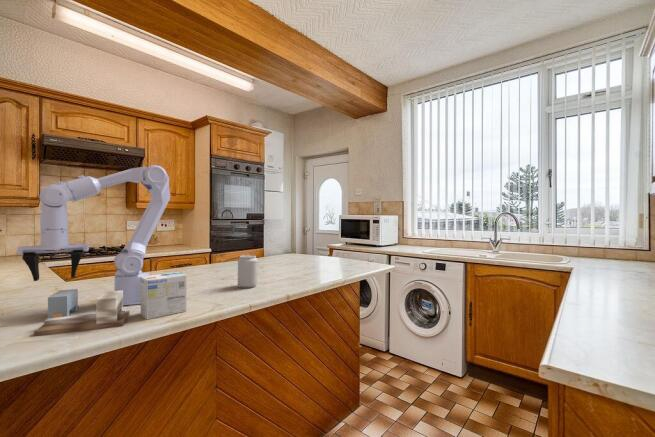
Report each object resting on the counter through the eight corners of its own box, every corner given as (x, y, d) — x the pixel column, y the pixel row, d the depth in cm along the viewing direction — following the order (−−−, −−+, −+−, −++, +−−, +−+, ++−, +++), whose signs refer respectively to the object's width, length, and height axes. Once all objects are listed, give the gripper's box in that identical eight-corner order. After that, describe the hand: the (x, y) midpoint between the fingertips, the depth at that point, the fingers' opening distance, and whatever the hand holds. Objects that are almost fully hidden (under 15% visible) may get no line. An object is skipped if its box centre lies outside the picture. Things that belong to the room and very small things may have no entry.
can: (234, 288, 116) (234, 256, 115) (242, 283, 123) (243, 253, 123) (252, 289, 114) (253, 257, 114) (260, 284, 122) (260, 254, 121)
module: (77, 309, 88) (77, 288, 88) (66, 319, 81) (66, 296, 80) (60, 311, 87) (60, 290, 87) (46, 321, 79) (46, 298, 79)
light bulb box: (179, 306, 93) (179, 270, 93) (187, 311, 88) (187, 274, 88) (139, 314, 85) (139, 275, 85) (145, 320, 81) (145, 279, 80)
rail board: (129, 314, 85) (129, 289, 85) (122, 325, 76) (122, 298, 76) (51, 322, 78) (51, 295, 78) (34, 335, 70) (34, 305, 69)
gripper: (89, 228, 91) (90, 273, 91) (22, 229, 83) (23, 278, 84) (86, 229, 85) (87, 277, 85) (14, 230, 77) (15, 284, 78)
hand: (55, 278), depth 84 cm, fingers open, 7 cm apart
